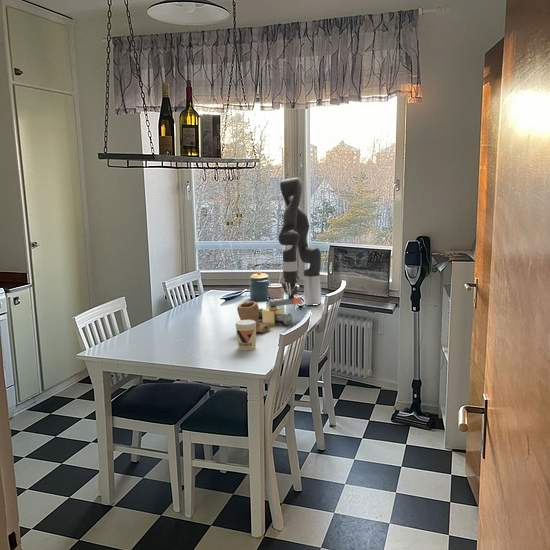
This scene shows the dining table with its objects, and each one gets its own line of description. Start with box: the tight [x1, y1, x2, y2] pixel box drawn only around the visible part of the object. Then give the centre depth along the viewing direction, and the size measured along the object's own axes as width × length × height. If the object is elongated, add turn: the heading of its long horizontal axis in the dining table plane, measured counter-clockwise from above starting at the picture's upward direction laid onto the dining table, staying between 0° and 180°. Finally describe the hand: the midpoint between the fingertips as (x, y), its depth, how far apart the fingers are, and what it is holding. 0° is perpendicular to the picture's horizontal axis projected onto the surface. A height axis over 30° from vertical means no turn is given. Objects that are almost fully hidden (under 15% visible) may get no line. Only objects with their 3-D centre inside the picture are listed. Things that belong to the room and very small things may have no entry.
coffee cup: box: [235, 319, 257, 351], centre depth 259 cm, size 9×9×12 cm
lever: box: [267, 296, 302, 308], centre depth 299 cm, size 17×4×3 cm, turn 108°
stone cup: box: [237, 300, 272, 333], centre depth 283 cm, size 15×12×15 cm
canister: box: [248, 270, 271, 302], centre depth 352 cm, size 13×13×18 cm
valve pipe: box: [258, 306, 293, 327], centre depth 299 cm, size 20×8×9 cm, turn 50°
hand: (291, 301), depth 305 cm, fingers closed
